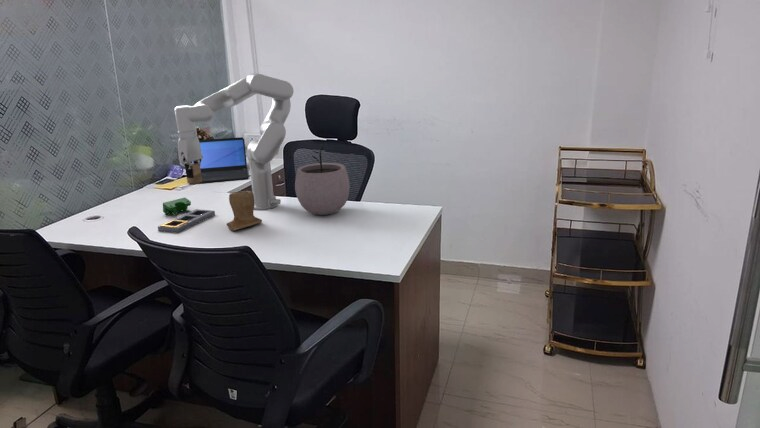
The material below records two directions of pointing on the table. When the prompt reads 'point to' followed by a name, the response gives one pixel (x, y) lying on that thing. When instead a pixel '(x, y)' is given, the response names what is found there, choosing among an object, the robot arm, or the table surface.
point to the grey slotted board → (181, 224)
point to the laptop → (223, 160)
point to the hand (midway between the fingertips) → (194, 175)
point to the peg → (195, 174)
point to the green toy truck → (176, 206)
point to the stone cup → (242, 210)
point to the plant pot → (322, 187)
